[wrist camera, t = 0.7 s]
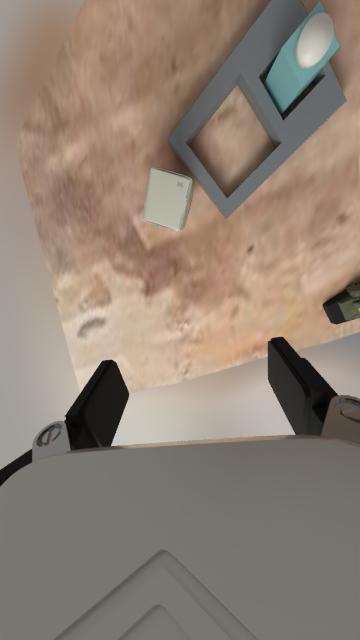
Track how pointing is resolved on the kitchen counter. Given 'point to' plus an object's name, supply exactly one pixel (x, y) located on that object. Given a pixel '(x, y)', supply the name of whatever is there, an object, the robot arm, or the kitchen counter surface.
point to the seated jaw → (301, 58)
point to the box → (167, 199)
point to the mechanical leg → (344, 305)
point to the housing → (258, 102)
